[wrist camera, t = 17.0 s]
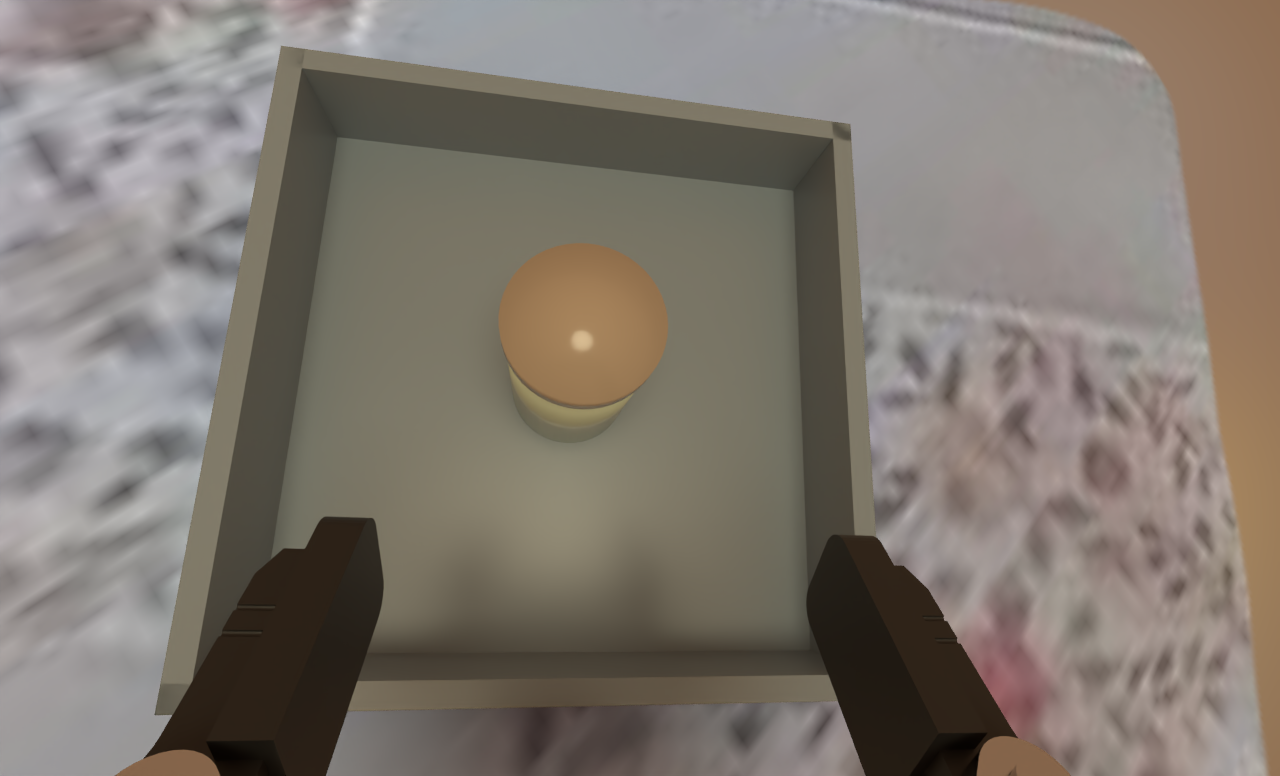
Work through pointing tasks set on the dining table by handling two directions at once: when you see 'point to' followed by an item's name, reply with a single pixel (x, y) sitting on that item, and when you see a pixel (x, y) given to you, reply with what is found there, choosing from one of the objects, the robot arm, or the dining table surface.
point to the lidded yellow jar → (579, 338)
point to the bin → (483, 400)
